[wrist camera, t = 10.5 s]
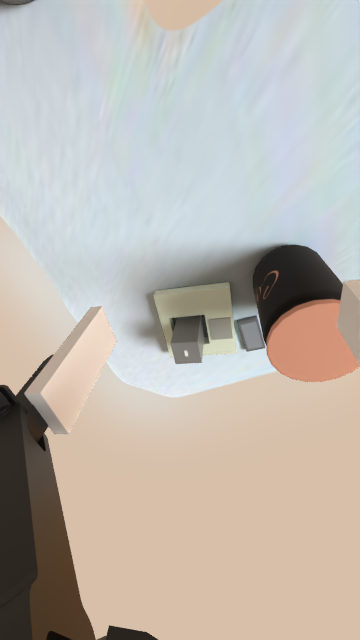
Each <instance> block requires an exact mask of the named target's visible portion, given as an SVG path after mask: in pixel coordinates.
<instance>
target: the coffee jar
mask: <svg viewBox="0 0 360 640" xmlns="http://www.w3.org/2000/svg"><path fill="white" fill-rule="evenodd" d="M253 288H254V293H255V298H256V303H257V308H258V313H259V318H260V323H261V328H262V333H263V338H264V341H265V343H266V346H267V355H268V358H269V360H270V362H271V364H272V365H273V366H274V367H275V368H276V369H277V370H278V371H279V372H280V373H281V374H283V375H286V376H287V377H289V378H292V379H295V380H300V381H305V382H322V381H327V380H332V379H336V378H339V377H341V376H344V375H346V374H348V373H351V372H353V371H354V370H355V369H357V368H358V367H359V366H360V365H359V363H358V361H357V360H356V358H355V356H354V355H353V353H352V351H351V350H350V348H349V346H348V345H347V343H346V341H345V340H344V338H343V336H342V335H341V333H340V331H339V330H338V328H337V320H338V314H339V308H340V301H341V295H342V288H343V284H342V283H341V281H340V280H339V279H338V278H337V276H336V275H335V274H334V273H333V272H332V270H331V269H330V268H329V267H328V266H327V264H326V263H325V262H324V261H323V260H322V258H321V257H320V256H319V255H318V253H317V252H315V251H313V250H312V249H310V248H308V247H305V246H300V245H289V246H283V247H280V248H278V249H275V250H273V251H271V252H270V253H269V254H267V255H266V256H265V257H264V258H262V260H261V261H260V263H259V264H258V265H257V267H256V269H255V272H254V275H253Z"/></svg>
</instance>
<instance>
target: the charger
mask: <svg viewBox="0 0 360 640" xmlns="http://www.w3.org/2000/svg"><path fill="white" fill-rule="evenodd" d="M203 344H204V329H203V323H202V318H201V315H196V316H186V317H177V320H176V323H175V327H174V331H173V335H172V339H171V343H170V345H171V348H172V352H173V355H174V359H175V363H176V364H184V363H202V354H203Z"/></svg>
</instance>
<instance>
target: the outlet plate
mask: <svg viewBox="0 0 360 640" xmlns="http://www.w3.org/2000/svg"><path fill="white" fill-rule="evenodd" d="M153 297H154V301H155V305H156V308H157V312H158V315H159V319H160V322H161V326H162V329H163V333H164V336H165V340H166V343H167V347H168V350H169V354H170V357H174V355H173V352H172V348H171V345H170V343H171V339H172V335H173V331H174V323H173V319H172V318H175V317H186V316H196V315H205V319H206V325H207V331H208V337H207V338H204V344H203V354H202V355H217V354H234V353H237V350H236V339H235V330H234V320H233V311H232V302H231V292H230V283H229V282H224V283H216V284H207V285H199V286H191V287H182V288H174V289H165V290H157V291H155V293H154V295H153Z"/></svg>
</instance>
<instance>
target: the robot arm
mask: <svg viewBox="0 0 360 640" xmlns="http://www.w3.org/2000/svg"><path fill="white" fill-rule="evenodd" d="M0 1H1V2H4V3H9V4H23V3H27V2H30V1H32V0H0ZM337 328H338V330H339V331H340V333H341V335H342V336H343V338H344V340H345V341H346V343H347V345H348V346H349V348H350V350H351V351H352V353H353V355H354V356H355V358H356V360H357V361H358V363H359V365H360V280H351V281H344V282H343V288H342V295H341V301H340V308H339V314H338V320H337ZM116 342H117V341H116V339H115V336H114V334H113V331H112V329H111V326H110V324H109V321H108V319H107V317H106V314H105V312H104V309H103V307H102V306H99V307H91V308H90V309H89V310H88V312H87V313H86V314H85V316H84V317H83V318H82V319H81V321H80V322H79V323H78V325H77V326H76V327H75V328H74V330H73V331H72V332H71V334H70V335H69V336H68V337H67V339H66V340H65V341H64V343H63V344H62V345H61V347H60V348H59V349H58V350H57V352H56V353H55V354H54V355H51V356H50V357H48V358H47V359H46V360H45V361H43V363H42V364H41V365H40V366H39V368H38V369H37V371H35V373H34V374H33V375H32V377H31V378H30V379H29V380H28V381H27V383H26V384H25V385H24V386H23V387H22V389H21V390H20V391H19V393H18V394H17V395H16V396H15V395H14V394H13V393H12V391H11V390H10V389H9V387H8V386H6V385H0V640H96V639H95V635H94V631H93V628H92V625H91V622H90V620H89V618H88V616H87V614H86V612H85V610H84V608H83V605H82V602H81V598H80V594H79V589H78V584H77V580H76V574H75V570H74V565H73V560H72V555H71V550H70V546H69V540H68V536H67V531H66V526H65V521H64V516H63V511H62V506H61V502H60V497H59V492H58V487H57V483H56V477H55V473H54V468H53V463H52V458H51V453H50V449H49V444H48V439H47V437H46V435H45V434H44V432H45V431H46V429H47V427H48V426H49V428H50V429H51V430H52V431H53V433H54V434H69V433H70V431H71V429H72V427H73V425H74V423H75V421H76V419H77V417H78V416H79V414H80V412H81V410H82V408H83V406H84V404H85V402H86V400H87V398H88V396H89V394H90V392H91V390H92V388H93V387H94V385H95V383H96V381H97V379H98V377H99V375H100V373H101V371H102V369H103V367H104V366H105V364H106V362H107V360H108V358H109V356H110V354H111V352H112V350H113V348H114V346H115V344H116ZM98 640H158V639H156V638H155V637H153V636H152V635H150V634H149V633H147V632H142V631H137V630H131V629H126V628H120V627H114V626H109V628H108V632H107V636H104V637H102V638H100V639H98Z"/></svg>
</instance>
